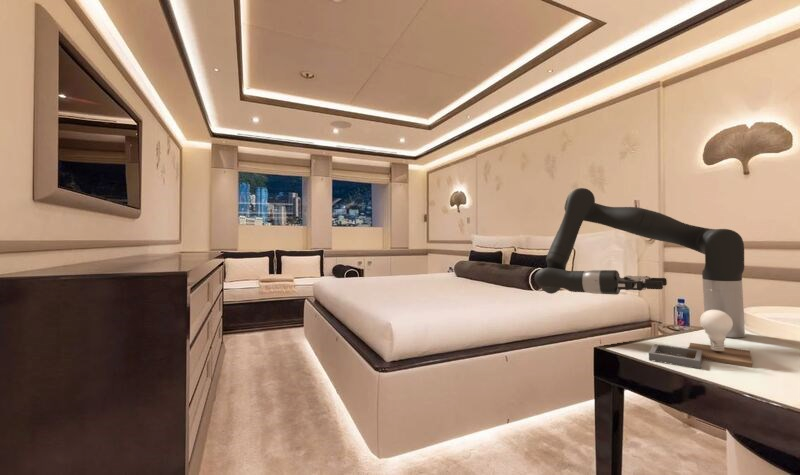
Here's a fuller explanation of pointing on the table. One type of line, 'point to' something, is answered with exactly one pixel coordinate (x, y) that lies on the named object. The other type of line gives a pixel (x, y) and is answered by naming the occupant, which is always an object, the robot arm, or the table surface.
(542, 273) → the robot arm
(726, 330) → the lightbulb
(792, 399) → the table surface
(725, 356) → the coaster
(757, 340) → the table surface
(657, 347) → the tray
